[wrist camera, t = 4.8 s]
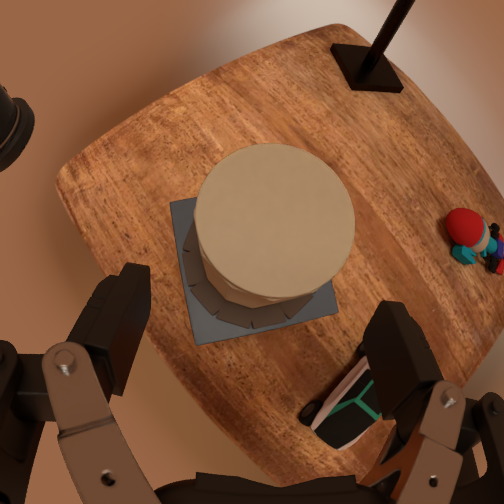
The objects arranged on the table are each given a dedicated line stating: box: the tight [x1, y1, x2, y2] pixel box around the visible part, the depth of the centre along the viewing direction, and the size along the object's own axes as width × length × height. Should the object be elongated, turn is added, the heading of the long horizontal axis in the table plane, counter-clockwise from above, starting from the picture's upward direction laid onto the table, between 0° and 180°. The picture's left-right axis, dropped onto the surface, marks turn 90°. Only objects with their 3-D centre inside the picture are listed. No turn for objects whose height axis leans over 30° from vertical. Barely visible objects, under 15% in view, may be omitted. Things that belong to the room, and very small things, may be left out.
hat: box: [182, 143, 355, 329], centre depth 15 cm, size 8×8×8 cm
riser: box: [170, 197, 339, 346], centre depth 25 cm, size 9×9×12 cm
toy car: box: [299, 342, 381, 451], centre depth 27 cm, size 6×12×5 cm, turn 136°
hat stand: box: [330, 0, 415, 93], centre depth 31 cm, size 9×9×16 cm
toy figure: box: [446, 208, 504, 275], centre depth 33 cm, size 8×5×15 cm
